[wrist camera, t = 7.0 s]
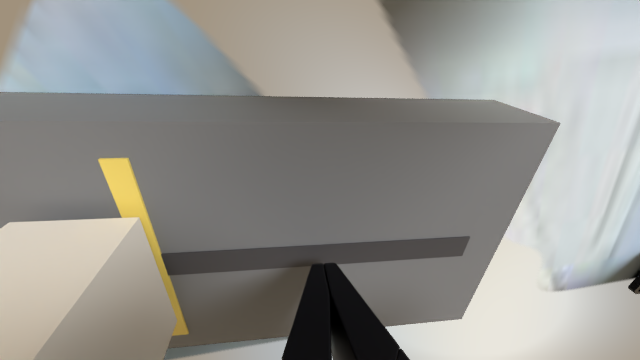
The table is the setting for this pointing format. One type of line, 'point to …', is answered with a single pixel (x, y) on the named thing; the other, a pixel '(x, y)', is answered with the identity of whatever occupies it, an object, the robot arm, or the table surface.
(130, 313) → the fader tab
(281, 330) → the fader console
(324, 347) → the robot arm
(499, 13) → the table surface
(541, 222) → the table surface
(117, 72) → the table surface
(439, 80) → the table surface
